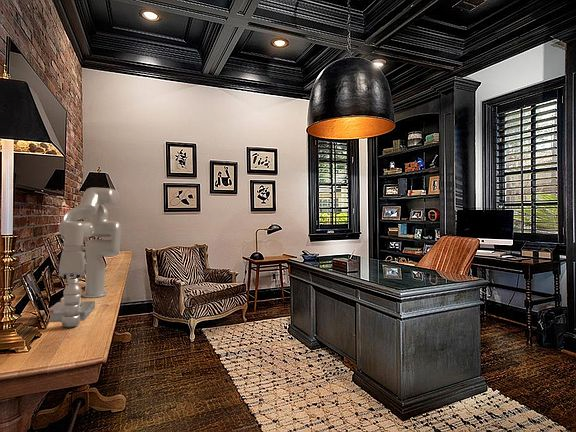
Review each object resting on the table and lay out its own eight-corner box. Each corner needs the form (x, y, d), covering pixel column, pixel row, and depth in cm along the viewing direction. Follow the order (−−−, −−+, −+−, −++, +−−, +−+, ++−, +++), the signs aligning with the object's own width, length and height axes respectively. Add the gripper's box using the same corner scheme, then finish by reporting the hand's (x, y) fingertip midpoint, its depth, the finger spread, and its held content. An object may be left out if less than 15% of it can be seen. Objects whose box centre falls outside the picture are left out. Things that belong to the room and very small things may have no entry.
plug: (67, 309, 169) (68, 293, 169) (81, 309, 171) (82, 293, 171) (59, 316, 159) (60, 298, 159) (75, 315, 161) (76, 298, 161)
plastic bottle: (57, 327, 146) (60, 278, 146) (74, 323, 152) (76, 276, 152) (67, 330, 143) (69, 280, 143) (83, 326, 149) (85, 278, 149)
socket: (57, 309, 171) (57, 301, 171) (94, 308, 176) (95, 300, 176) (42, 321, 152) (42, 312, 152) (84, 320, 157) (84, 311, 157)
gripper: (93, 248, 170) (91, 287, 170) (57, 248, 165) (55, 287, 165) (89, 250, 163) (87, 290, 162) (52, 249, 158) (50, 290, 158)
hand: (71, 288), depth 164 cm, fingers closed
